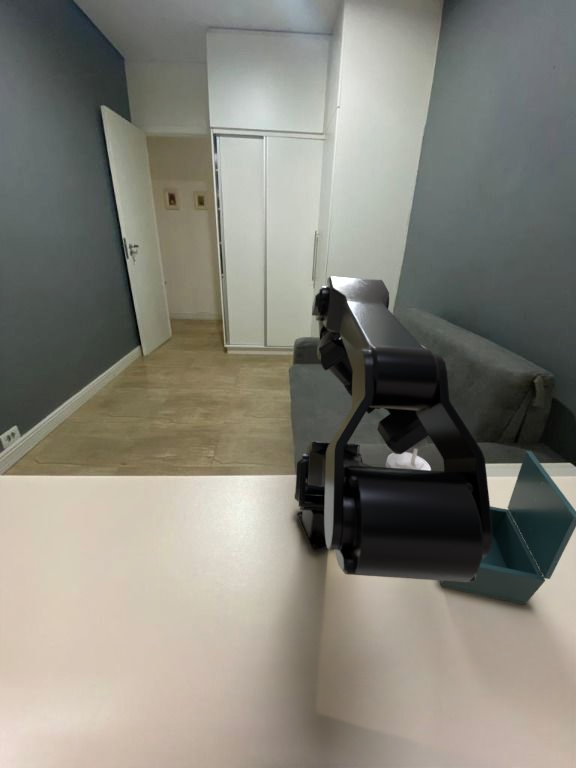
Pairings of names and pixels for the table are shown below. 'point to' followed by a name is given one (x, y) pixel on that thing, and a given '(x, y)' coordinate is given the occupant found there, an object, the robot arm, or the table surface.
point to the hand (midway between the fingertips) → (409, 427)
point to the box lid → (541, 514)
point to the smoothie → (407, 461)
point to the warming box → (504, 565)
